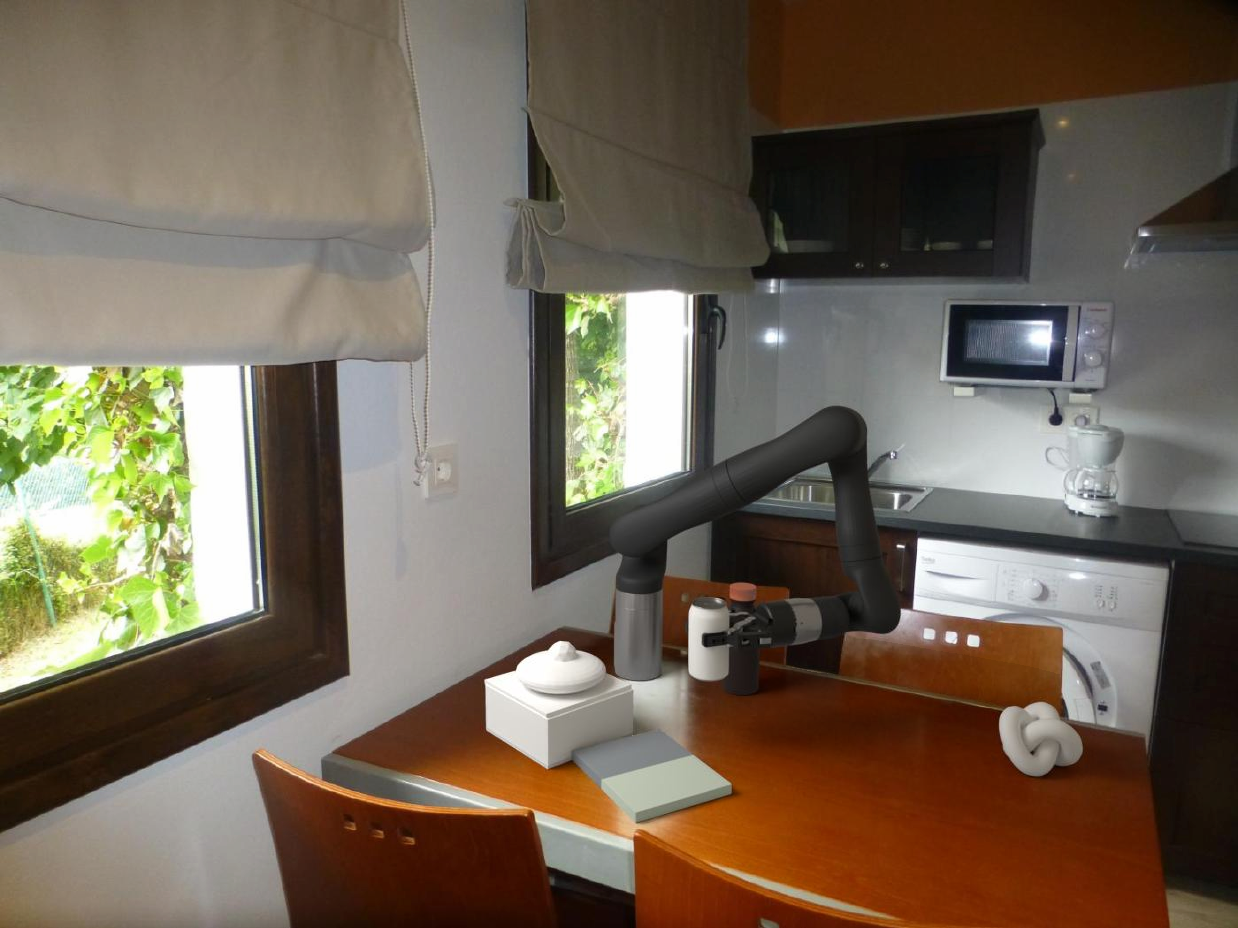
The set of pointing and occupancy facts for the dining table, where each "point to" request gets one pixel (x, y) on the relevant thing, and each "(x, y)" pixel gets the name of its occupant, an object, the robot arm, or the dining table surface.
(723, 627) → the can
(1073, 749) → the white decorative knot
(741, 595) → the bottle
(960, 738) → the dining table surface
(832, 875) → the dining table surface
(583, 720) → the white lidded box
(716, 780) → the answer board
